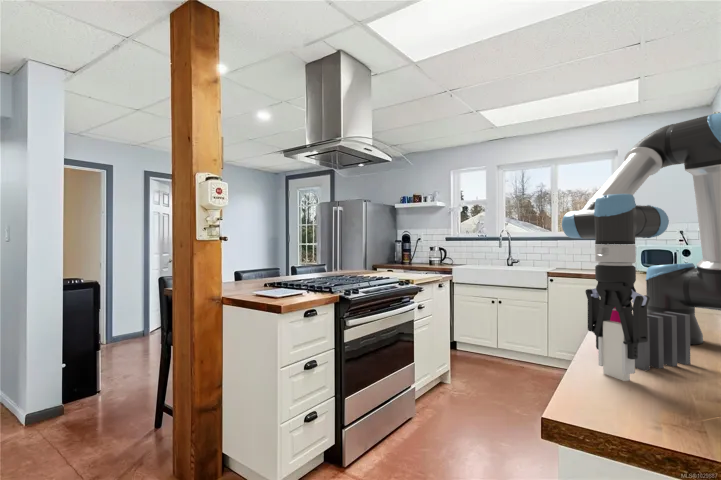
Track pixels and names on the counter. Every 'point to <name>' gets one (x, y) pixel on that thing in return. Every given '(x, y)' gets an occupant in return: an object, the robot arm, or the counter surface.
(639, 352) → the domino
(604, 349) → the white domino
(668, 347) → the domino
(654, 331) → the domino
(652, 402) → the counter surface
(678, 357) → the domino
